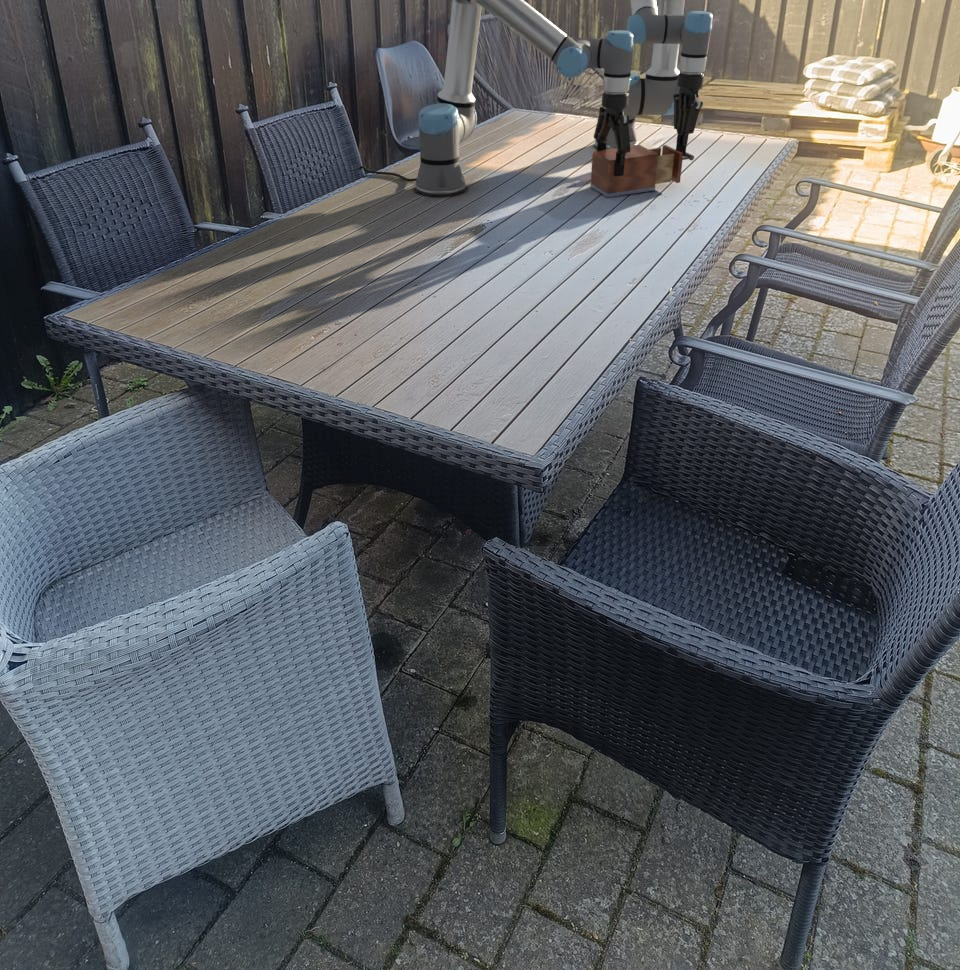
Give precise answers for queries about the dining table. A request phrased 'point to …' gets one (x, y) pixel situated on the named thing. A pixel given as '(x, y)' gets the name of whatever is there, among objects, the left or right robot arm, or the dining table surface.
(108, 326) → the dining table surface
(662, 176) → the drawer
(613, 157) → the cabinet
